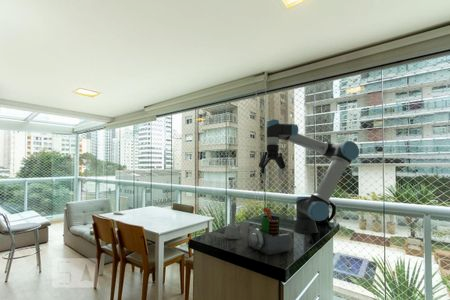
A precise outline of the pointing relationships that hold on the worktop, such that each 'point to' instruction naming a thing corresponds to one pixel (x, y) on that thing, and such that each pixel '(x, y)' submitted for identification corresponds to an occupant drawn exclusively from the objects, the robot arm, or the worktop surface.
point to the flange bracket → (268, 241)
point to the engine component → (233, 225)
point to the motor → (269, 223)
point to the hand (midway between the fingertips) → (272, 179)
